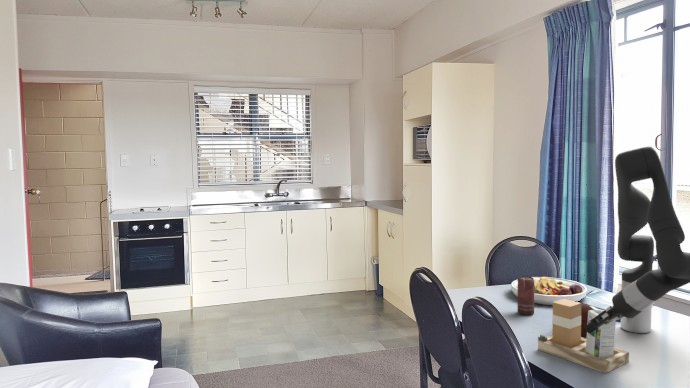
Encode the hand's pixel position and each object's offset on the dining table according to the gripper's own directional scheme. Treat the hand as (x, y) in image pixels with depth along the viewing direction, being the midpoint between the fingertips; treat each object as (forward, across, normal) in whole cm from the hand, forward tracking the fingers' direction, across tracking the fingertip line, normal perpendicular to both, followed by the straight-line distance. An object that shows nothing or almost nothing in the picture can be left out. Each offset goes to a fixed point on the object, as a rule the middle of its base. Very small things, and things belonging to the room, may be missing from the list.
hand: (594, 327), depth 157 cm
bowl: (+41, -46, -26) cm, 67 cm away
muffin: (+18, -17, -4) cm, 25 cm away
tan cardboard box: (+13, 0, 0) cm, 13 cm away
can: (+35, -20, -21) cm, 46 cm away
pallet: (+10, 0, +4) cm, 11 cm away
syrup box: (+6, 0, +8) cm, 10 cm away
